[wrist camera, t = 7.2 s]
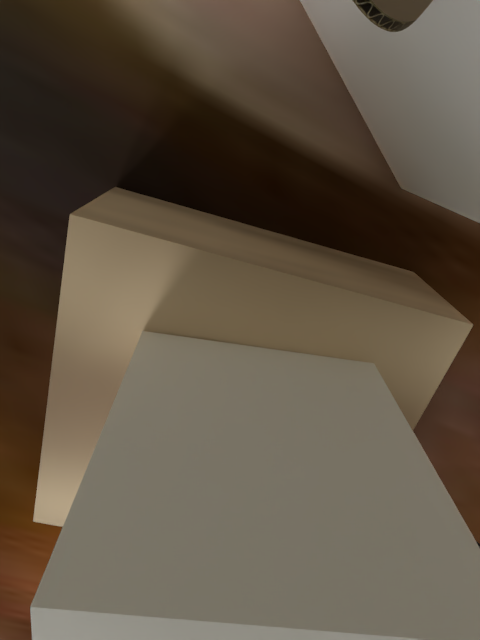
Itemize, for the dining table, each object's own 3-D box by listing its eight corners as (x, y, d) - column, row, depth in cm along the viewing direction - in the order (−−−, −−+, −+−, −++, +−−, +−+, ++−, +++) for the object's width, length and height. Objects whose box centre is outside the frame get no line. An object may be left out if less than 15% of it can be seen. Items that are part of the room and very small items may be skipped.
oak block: (309, 477, 17) (329, 575, 13) (78, 429, 16) (33, 521, 12) (409, 268, 13) (473, 324, 10) (118, 184, 12) (70, 213, 9)
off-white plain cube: (317, 522, 12) (384, 838, 7) (128, 503, 12) (43, 825, 7) (374, 363, 10) (537, 648, 5) (142, 330, 10) (29, 607, 4)
